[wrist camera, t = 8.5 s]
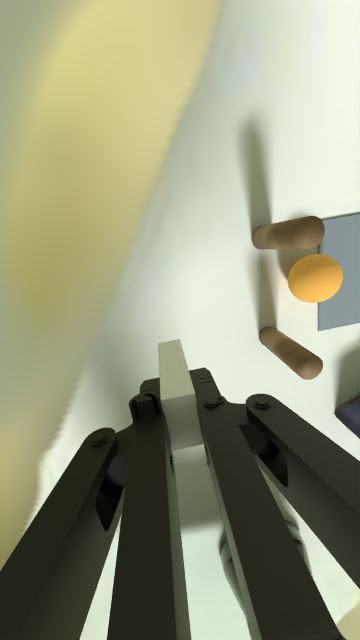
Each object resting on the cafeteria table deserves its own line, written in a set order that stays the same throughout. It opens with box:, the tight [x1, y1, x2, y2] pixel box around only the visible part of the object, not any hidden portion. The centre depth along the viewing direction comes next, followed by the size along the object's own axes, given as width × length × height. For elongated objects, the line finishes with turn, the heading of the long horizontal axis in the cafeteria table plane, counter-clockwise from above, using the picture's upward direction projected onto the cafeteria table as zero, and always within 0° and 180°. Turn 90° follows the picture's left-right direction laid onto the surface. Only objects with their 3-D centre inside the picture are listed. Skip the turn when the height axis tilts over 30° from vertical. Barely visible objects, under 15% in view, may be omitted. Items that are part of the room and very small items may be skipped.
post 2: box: [259, 327, 323, 380], centre depth 28 cm, size 3×3×9 cm
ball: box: [288, 254, 343, 303], centre depth 27 cm, size 6×6×6 cm
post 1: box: [252, 216, 325, 250], centre depth 24 cm, size 3×3×9 cm
